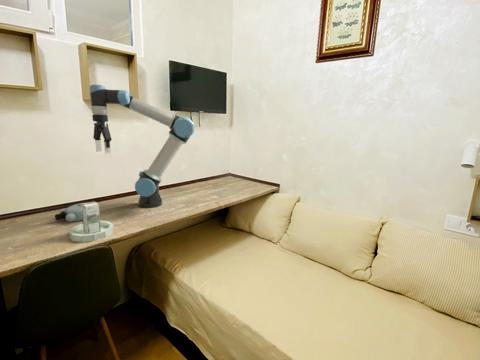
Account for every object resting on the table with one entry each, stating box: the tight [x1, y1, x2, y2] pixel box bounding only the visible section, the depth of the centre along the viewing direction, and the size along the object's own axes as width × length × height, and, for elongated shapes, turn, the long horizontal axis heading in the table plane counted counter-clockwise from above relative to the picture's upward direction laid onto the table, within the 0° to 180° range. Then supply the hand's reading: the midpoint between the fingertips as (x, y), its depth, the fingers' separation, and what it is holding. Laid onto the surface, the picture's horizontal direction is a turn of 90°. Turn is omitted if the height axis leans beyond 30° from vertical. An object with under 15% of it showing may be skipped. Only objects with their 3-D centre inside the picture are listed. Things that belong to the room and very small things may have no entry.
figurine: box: [54, 202, 85, 222], centre depth 142 cm, size 17×8×20 cm
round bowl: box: [68, 220, 115, 243], centre depth 123 cm, size 18×18×3 cm
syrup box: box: [81, 201, 101, 234], centre depth 122 cm, size 6×6×14 cm
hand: (103, 152), depth 145 cm, fingers open, 13 cm apart
